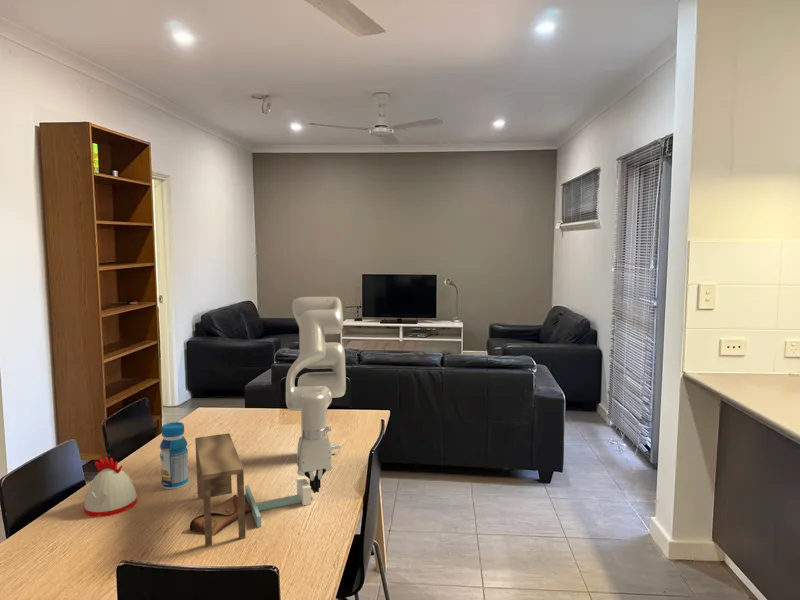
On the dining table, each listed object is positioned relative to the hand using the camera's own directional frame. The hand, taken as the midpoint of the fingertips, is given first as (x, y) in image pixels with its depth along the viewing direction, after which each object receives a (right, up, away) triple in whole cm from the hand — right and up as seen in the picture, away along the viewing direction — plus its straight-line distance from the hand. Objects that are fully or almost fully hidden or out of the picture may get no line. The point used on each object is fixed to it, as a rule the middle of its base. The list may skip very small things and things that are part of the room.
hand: (315, 490), depth 164 cm
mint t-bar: (-10, -3, -4) cm, 11 cm away
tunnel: (-26, -4, -11) cm, 28 cm away
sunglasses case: (-24, -4, -13) cm, 27 cm away
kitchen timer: (-61, -3, -4) cm, 61 cm away
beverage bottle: (-48, -2, +10) cm, 49 cm away
